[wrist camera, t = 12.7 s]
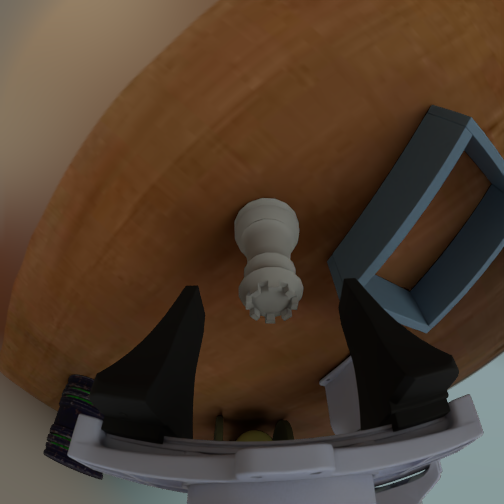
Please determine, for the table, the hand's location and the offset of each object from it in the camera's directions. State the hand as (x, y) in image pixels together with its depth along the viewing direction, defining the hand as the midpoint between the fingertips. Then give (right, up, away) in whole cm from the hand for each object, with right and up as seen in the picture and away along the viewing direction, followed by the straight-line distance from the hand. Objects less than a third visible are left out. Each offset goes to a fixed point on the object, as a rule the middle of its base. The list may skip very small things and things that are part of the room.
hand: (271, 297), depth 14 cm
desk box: (+13, +5, +5) cm, 15 cm away
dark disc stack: (-27, -21, +23) cm, 41 cm away
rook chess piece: (0, +4, +6) cm, 8 cm away
